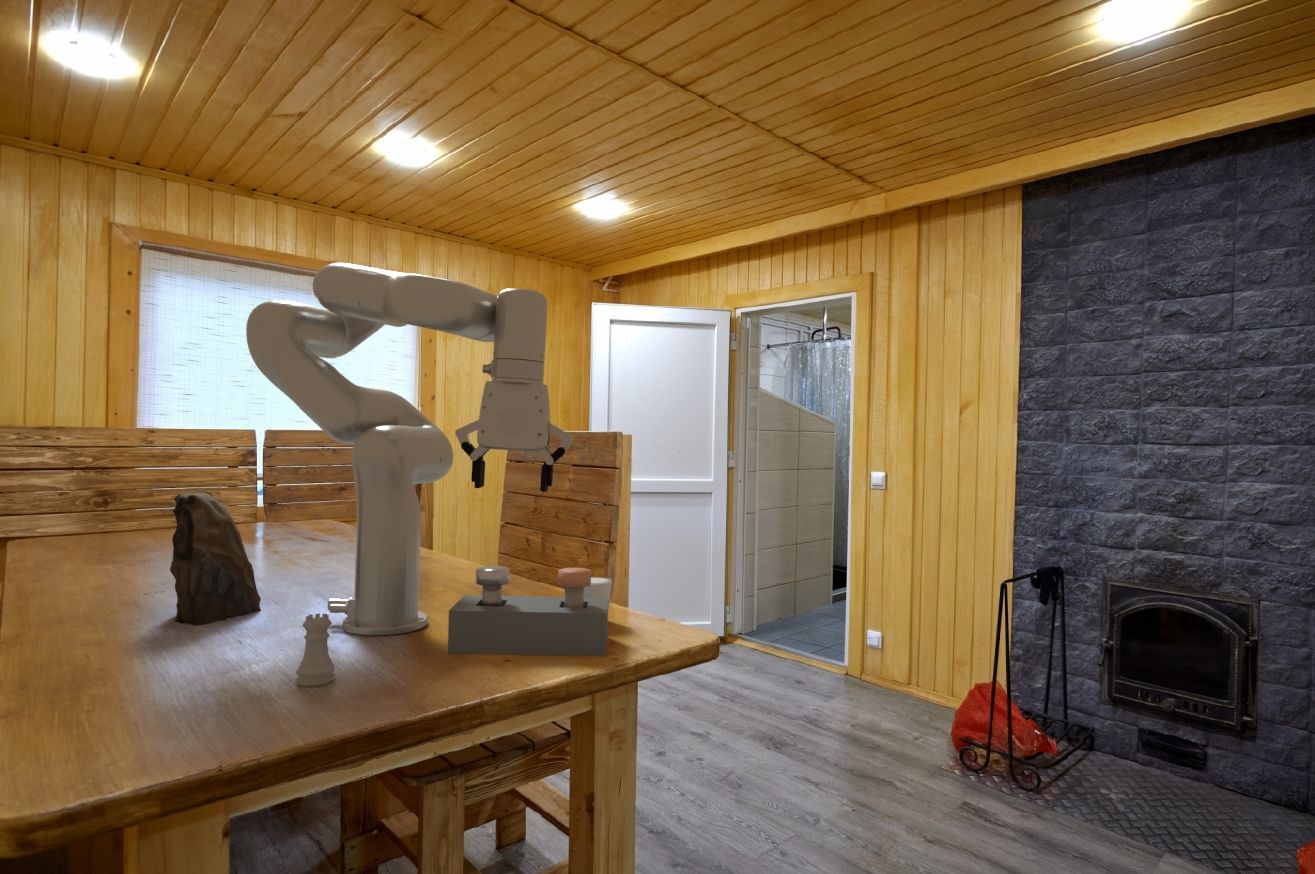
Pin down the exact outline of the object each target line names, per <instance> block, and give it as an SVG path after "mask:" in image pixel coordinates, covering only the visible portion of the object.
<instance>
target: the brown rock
mask: <svg viewBox="0 0 1315 874" xmlns="http://www.w3.org/2000/svg"><path fill="white" fill-rule="evenodd" d="M173 500H174V501H175V507H174V508H173V509H172V512H173V513H174V517H175V520H176V527H175V531H174V533H173V536H172V539H171V540H172V546H173V550H172V559H171V560H172V561H171V564H170V568H169V571H170V573H171V575H172V576H173V578H174V580H175V584H174V591H175V593H176V598H177V599H176V600H177V601H176V605H175V606H176V616H175V617H174V618H175V620H174V622H175V623H178V624H182V625H183V624H184V625H185V624H186V625H191V626H193V627H194V626H195V627H196V626H197V627H199V626H204V625H209V624H213V623H217V622H222V621H226V620H229V619H234V618H237V617H244V616H248V615H251V614H254V613H258V612H262V609H261V606H260V605H261V597H260V594H259V591H258V589H257V583H256V578H255V571H254V568H253V567H254V566H253V564H252V563H251V562H250V560H249V558H248V554H247V552H246V550H245V547H244V546H245V545H244V542H243V538H242V536H241V532H240V530H239V529H238V528H237V525H236V524H235V520H234V519H233V517H232V515H231V514H230V512H229V511H228V509H227V508H226V507H225V505H223V504H222V503H221V502H220V501H219V500H218V499H217V497H215V496H213V495H211V494H209V493H206V491H204V490H200V491H199V492H198V491H196V492H191V491H183V492H179V493H178V494H177V495H176V496H175V497H174V499H173Z"/></svg>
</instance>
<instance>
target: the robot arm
mask: <svg viewBox="0 0 1315 874" xmlns="http://www.w3.org/2000/svg"><path fill="white" fill-rule="evenodd" d="M313 277H314V278H313V280H312V292H313V295H314V297H315V299H316V301H317V302H318V304H320V305H321V306H322V307H323V308H322V307H318V306H315V305H310V304H307V303H302V302H297V301H292V300H281V299H279V300H277V299H276V300H275V299H274V300H269V301H265V302H262V303H260V304H258V305H257V306H255V307H254V308H253V309H252V310H251V312H250V313H249V315H248V318H247V322H246V326H245V329H246V333H245V334H246V337H245V338H246V342H247V343H246V344H247V349H248V351H249V354H250V356H251V359H252V360H253V362H254V363H255V366H256V367H257V369H259V371H260V372H261V373H262V374H263V375H264V377H266V379H267V380H268V381H269V382H270V383H272V385H273V386H274V387H276V388H277V389H279V390H280V391H281V392H282V393H283V394H284V395H285V396H287V398H289V399H290V400H291V401H292V402H293V403H294V404H295V405H296V406H297V407H298V409H300V410H301V411H302V412H303V413H304V414H305V415H306V416H307V417H308V418H309V419H310V420H311V421H312V422H313V423H314V424H316V425H317V427H318V428H320V429H321V430H322V431H323V432H324V433H325V434H326V435H327V436H328V437H330V438H331V439H332V440H333V441H335V442H337V443H341V444H346V445H347V444H348V445H353V447H352V451H351V467H352V473H353V478H354V486H355V494H356V497H355V498H356V524H355V525H356V526H355V527H356V531H355V532H356V541H355V565H354V567H355V569H354V595H353V596H351V597H349V598H347V599H345V598H344V599H343V598H329V599H328V602H327V611H329V613H330V614H341V613H343V614H344V615H346V617H345V618H344V619H342V629H343V630H344V631H345V632H347V633H351V634H353V635H361V636H390V635H397V634H398V635H400V634H406V633H410V632H414V631H417V630H420V629H422V628H424V627H425V626H427V625H428V622H429V620H428V619H429V616H428V614H427V613H425V612H423V611H420V610H419V593H420V592H419V589H420V587H419V586H420V564H421V563H420V562H421V560H420V559H421V557H420V555H421V554H420V553H421V521H422V518H421V517H422V515H421V513H422V512H421V505H420V501H419V497H418V494H417V492H416V489H415V486H414V485H419V484H420V485H421V484H429V483H433V482H437V481H439V480H441V479H443V478H444V477H445V476H446V475H447V474H448V473H449V472H450V470H451V468H452V466H453V462H454V450H453V446H452V444H451V441H450V440H449V438H448V437H447V435H446V434H445V432H443V431H442V429H440V428H439V427H438V426H437V425H436V424H435V423H433V422H432V421H431V420H430V419H429V418H428V417H426V416H425V415H424V414H423V413H422V412H421V411H420V410H418V408H416V407H415V406H414V405H413V404H412V403H411V402H410V401H408V400H407V399H406V398H404V397H403V396H401V395H400V394H397V393H395V392H393V391H389V390H386V389H379V388H370V387H369V388H368V387H365V386H360V385H357V384H355V383H353V382H352V381H350V380H349V378H347V377H345V376H344V375H343V374H342V373H341V372H339V370H337V368H336V367H334V366H333V365H332V364H331V363H329V362H328V361H326V360H324V359H323V358H325V359H335V358H336V359H337V358H339V357H343V356H345V355H347V354H348V353H349V352H352V351H353V350H354V349H355V348H357V347H358V346H359V345H361V344H362V343H363V342H365V341H366V340H367V339H369V338H370V337H371V336H372V335H374V334H376V332H378V331H379V330H380V329H382V328H383V327H385V325H386V326H391V327H395V328H402V327H406V326H408V325H409V326H414V327H418V328H425V329H429V330H434V331H437V332H442V333H446V334H450V335H456V336H459V337H462V338H467V339H471V340H474V341H477V342H482V343H493V354H492V359H491V362H490V363H488V364H483V365H482V371H481V372H482V373H483V374H487V375H489V376H490V378H491V380H486V381H485V384H484V387H483V392H482V397H481V402H480V403H481V404H480V408H479V415H478V419H477V420H475V421H473V422H470V423H468V424H466V425H464V426H462V427H460V428H457V429H455V436H456V438H457V440H458V442H459V444H460V447H461V449H462V450H463V451H464V453H465V454H466V455H467V456H468V457H469V459H470V460H471V461H472V463H471V477H470V478H471V479H470V480H471V483H474V489H480V488H483V487H484V486H485V478H486V476H485V474H486V461H485V459H484V457H485V455H486V454H487V453H488V452H489V451H490V450H500V451H503V450H504V451H518V452H519V451H521V452H537V453H538V454H539V456H540V457H541V459H543V464H542V465H541V469H540V488H539V491H540V492H541V493H546V492H548V491H549V487H552V486H553V478H554V477H553V476H554V465H555V464H556V462H558V461H559V460H560V459H561V458H562V457H564V455H565V454H566V453H567V451H568V450H569V448H570V446H571V444H572V443H573V441H574V437H573V435H572V434H570V433H568V432H566V431H564V430H563V429H562V428H559V427H558V426H556V425H555V424H553V423H551V411H550V410H551V409H550V408H551V407H550V396H549V395H550V394H549V389H548V388H549V387H548V385H547V384H544V379H545V378H544V377H545V374H544V373H545V359H546V343H547V342H546V341H547V340H546V339H547V323H548V320H547V319H548V300H547V297H546V296H545V295H544V293H541V292H540V291H537V290H534V289H533V290H532V289H529V288H517V287H516V288H514V287H512V288H505V289H502V290H501V291H500V292H499V293H498V294H493V293H491V292H489V291H485V290H482V289H481V288H477V287H474V286H472V285H469V284H466V283H463V282H460V281H457V280H453V279H448V278H441V277H438V276H437V277H436V276H430V275H425V274H424V275H423V274H419V273H411V272H409V273H408V272H400V271H394V270H388V269H387V270H386V269H381V268H377V267H376V268H375V267H370V266H365V265H359V264H353V263H345V262H333V263H330V264H327V265H324V266H322V268H320V269H319V270H318V271H317V272H316V274H315V275H314V276H313ZM476 431H477V433H476V434H477V435H476V436H477V437H476V439H477V441H476V442H477V444H478V446H477V447H475V446H474V445H473V444H472V443H471V441H470V438H469V435H470V434H472V433H474V432H476ZM551 435H553V436H554V437H557V438H558V439H559V440H560V441H561V442H560V444H559V446H558V447H557V448H556V450H554V451H553V452H551V450H550V449H549V448H548V447H549V446H550V442H551V441H550V439H551Z"/></svg>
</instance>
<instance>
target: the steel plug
mask: <svg viewBox="0 0 1315 874" xmlns="http://www.w3.org/2000/svg"><path fill="white" fill-rule="evenodd" d="M509 583H510V568H509V567H507V566H500V565H488V566H480V567H477V568H475V584H476V585H478V586H482V587H481V588H482V589H481V590H482V592H481V595H482V606H501V603H502V596H503V595H502V594H503V586H506V585H508V584H509Z"/></svg>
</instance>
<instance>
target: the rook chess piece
mask: <svg viewBox="0 0 1315 874" xmlns="http://www.w3.org/2000/svg"><path fill="white" fill-rule="evenodd" d="M320 615H321V614H320V613H315V616H314V617H313V614H308V616H306V617H305V621H304V622H302V627H303V629H305V632H306V633H305V635H304V636H303V638H304V639H305V648H304V652H303V653H304V654H303V656H302V660H301V661H300V663H299V664H300V665H299V666H298V667H297V668H296V672H295V674H296V675H297V677H295V681H294V682H295V683H296V684H297V686H298V685H299V687H302V688H315V687H323V686H326V685H329V684H330V683H332V682H333V681H334V680H335V678H336V674H335V673H334V671H335V670H336V667H335V665H334V663H333V662H332V659H331V658H330V654H329V647H328V646H329V645H328V638H329V637H330V634H329V633H328V632H329V630H328V629H329V628H330V626H332V621H331V620H330V619H329V616H330V615H329V614H327V613H322V615H321V616H320Z"/></svg>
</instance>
